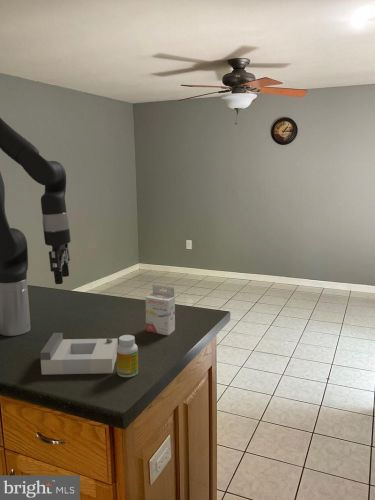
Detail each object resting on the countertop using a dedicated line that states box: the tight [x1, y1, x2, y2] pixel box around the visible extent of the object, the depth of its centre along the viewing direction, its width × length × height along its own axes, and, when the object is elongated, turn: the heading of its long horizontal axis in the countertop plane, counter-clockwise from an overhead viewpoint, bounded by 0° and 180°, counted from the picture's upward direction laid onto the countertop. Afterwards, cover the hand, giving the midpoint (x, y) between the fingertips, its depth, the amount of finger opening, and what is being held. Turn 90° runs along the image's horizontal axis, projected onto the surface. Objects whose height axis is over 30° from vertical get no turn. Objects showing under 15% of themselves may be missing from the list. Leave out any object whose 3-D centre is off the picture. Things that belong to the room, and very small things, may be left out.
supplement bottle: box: [116, 334, 139, 378], centre depth 108 cm, size 5×5×10 cm
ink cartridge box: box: [145, 284, 176, 336], centre depth 136 cm, size 9×5×15 cm, turn 65°
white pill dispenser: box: [39, 332, 119, 375], centre depth 114 cm, size 18×13×6 cm
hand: (62, 280), depth 131 cm, fingers open, 8 cm apart
